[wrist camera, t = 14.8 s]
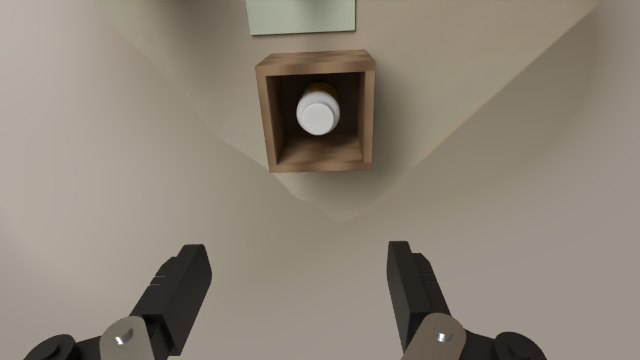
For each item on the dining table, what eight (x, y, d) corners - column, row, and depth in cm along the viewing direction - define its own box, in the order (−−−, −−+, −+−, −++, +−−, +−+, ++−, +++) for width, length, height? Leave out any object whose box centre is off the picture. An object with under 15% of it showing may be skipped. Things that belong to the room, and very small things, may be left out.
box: (364, 49, 43) (375, 61, 33) (362, 138, 49) (371, 169, 40) (271, 54, 44) (254, 66, 34) (280, 141, 50) (269, 172, 40)
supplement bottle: (346, 98, 46) (350, 119, 37) (320, 124, 48) (318, 150, 39) (319, 70, 44) (316, 86, 36) (293, 99, 46) (285, 120, 38)
